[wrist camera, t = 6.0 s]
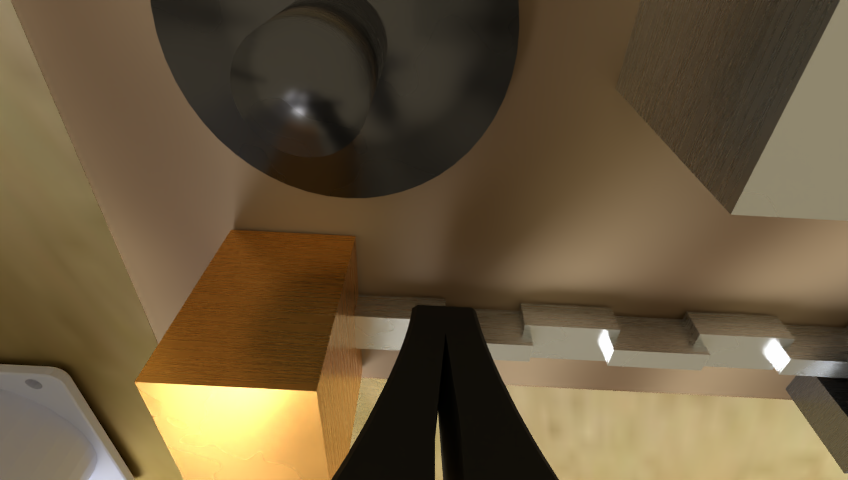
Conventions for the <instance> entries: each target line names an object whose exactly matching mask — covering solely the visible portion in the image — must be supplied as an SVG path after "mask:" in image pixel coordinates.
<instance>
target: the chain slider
mask: <svg viewBox="0 0 848 480" xmlns="http://www.w3.org/2000/svg"><path fill="white" fill-rule="evenodd" d="M416 305H431V306H445V299H435V298H416V297H397V296H377V295H359V294H358V275H357V256H356V237H355V236H341V235H322V234H303V233H284V232H264V231H245V230H230V232H229V234H228V235H227V237H226V238H225V240H224V241H223V243H222V245H221V246H220V248H219V249H218V251H217V253H216V254H215V256H214V257H213V259H212V260H211V262H210V264H209V265H208V267H207V268H206V270H205V271H204V273H203V275H202V276H201V278H200V279H199V281H198V283H197V284H196V286H195V287H194V289H193V290H192V292H191V294H190V295H189V297H188V298H187V300H186V301H185V303H184V305H183V306H182V308H181V309H180V311H179V313H178V314H177V316H176V317H175V319H174V320H173V322H172V324H171V325H170V327H169V328H168V330H167V331H166V333H165V335H164V336H163V338H162V339H161V341H160V343H159V344H158V346H157V347H156V349H155V350H154V352H153V354H152V355H151V357H150V358H149V360H148V362H147V363H146V365H145V366H144V368H143V369H142V371H141V373H140V374H139V376H138V377H137V379H136V380H135V384H136V386H137V388H138V390H139V392H140V394H141V396H142V398H143V400H144V402H145V404H146V406H147V408H148V410H149V412H150V414H151V416H152V418H153V420H154V421H155V423H156V425H157V427H158V429H159V431H160V433H161V435H162V437H163V439H164V441H165V443H166V445H167V447H168V449H169V451H170V453H171V455H172V457H173V459H174V461H175V463H176V465H177V467H178V469H179V471H180V473H181V474H182V476H183V478H184V480H331V479H332V477H333V476H334V474H335V473H336V471H337V470H338V468H339V467H340V465H341V464H342V462H343V460H344V459H345V457H346V456H347V454H348V452H349V449H350V443H351V436H352V430H353V424H354V418H355V412H356V406H357V400H358V394H359V388H360V382H361V376H362V370H363V369H362V350H361V349H377V350H397V351H400V349H401V346H402V344H403V341H404V338H405V335H406V332H407V329H408V325H409V322H410V317H411V312H412V308H413V307H415V306H416ZM474 310H475V311H476V313H477V317H478V320H479V323H480V327H481V330H482V333H483V335H484V338H485V341H486V343H487V346H488V348H489V351H490V353H491V356H492V358H493V360H506V361H525V362H529V361H530V357H533V358H552V359H572V360H591V361H606V363H607V366H622V367H642V368H661V369H680V370H700V371H701V370H702V368H703V367H704V366H708V367H727V368H746V369H766V370H773V368H775V369H776V371H777V372H778V374H779V375H797V376H816V377H836V378H848V326H847V327H846V328H837V327H818V326H798V325H784V324H783V323H782V322H781V321H780V319H779V318H778V317H777V316H764V315H745V314H725V313H706V312H686V314H685V316H684V317H683V319H663V318H644V317H624V316H615V315H614V313H613V311H612V308H609V307H590V306H571V305H551V304H532V303H521V304H520V309H519V311H508V310H489V309H474Z"/></svg>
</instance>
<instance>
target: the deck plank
mask: <svg viewBox="0 0 848 480" xmlns="http://www.w3.org/2000/svg"><path fill="white" fill-rule="evenodd" d="M640 1H641V0H519V38H518V49H517V56H516V60H515V65H514V69H513V74H512V78H511V81H510V84H509V86H508V89H507V92H506V95H505V98H504V100H503V102H502V104H501V106H500V108H499V110H498V112H497V114H496V116H495V118H494V120H493V121H492V122H491V124H490V125H489V127H488V128H487V130H486V131H485V133H484V134H483V136H482V137H481V138H480V139H479V141H478V142H477V143H476V144H475V145H474V146H473V147H472V149H471V150H470V151H469V152H468V153H467V154H466V155H465V156H463V157H462V158H461V159H460V160H459V161H458V162H457V163H456V164H454V165H453V166H452V167H450V168H449V169H447V170H446V171H444V172H443V173H442V174H440V175H439V176H437V177H435V178H433V179H431V180H429V181H427V182H425V183H423V184H422V185H419V186H416V187H414V188H411V189H408V190H406V191H403V192H399V193H395V194H391V195H386V196H380V197H371V198H340V197H331V196H324V195H320V194H315V193H311V192H307V191H304V190H301V189H298V188H295V187H292V186H289V185H287V184H285V183H282V182H280V181H278V180H276V179H274V178H272V177H270V176H268V175H266V174H264V173H263V172H261V171H259V170H258V169H256V168H254V167H252V166H251V165H250V164H248V163H247V162H246V161H244V160H243V159H241V158H240V157H239V156H237V155H236V154H235V153H233V152H232V151H231V150H230V149H229V148H228V147H227V146H226V145H225V144H223V143H222V142H221V141H220V140H219V139H218V138H217V137H216V136H215V135H214V134H213V133H212V132H211V131H210V129H209V128H208V127H207V126H206V125H205V124H204V123H203V122H202V120H201V119H200V118H199V116H198V115H197V114H196V112H195V111H194V110H193V108H192V107H191V106H190V104H189V103H188V102H187V100H186V98H185V96H184V95H183V93H182V91H181V90H180V88H179V86H178V85H177V83H176V81H175V79H174V77H173V75H172V73H171V71H170V68H169V66H168V64H167V62H166V60H165V57H164V54H163V51H162V48H161V45H160V42H159V39H158V36H157V33H156V28H155V24H154V19H153V14H152V10H151V1H150V0H11V2H12V4H13V7H14V9H15V11H16V14H17V16H18V18H19V21H20V23H21V25H22V28H23V30H24V32H25V35H26V37H27V39H28V41H29V44H30V46H31V48H32V51H33V53H34V55H35V58H36V60H37V62H38V65H39V67H40V69H41V72H42V74H43V76H44V79H45V81H46V83H47V86H48V88H49V90H50V93H51V95H52V97H53V100H54V102H55V104H56V107H57V109H58V111H59V114H60V116H61V118H62V121H63V123H64V125H65V128H66V130H67V132H68V135H69V137H70V139H71V142H72V144H73V146H74V149H75V151H76V153H77V156H78V158H79V160H80V163H81V165H82V167H83V170H84V172H85V174H86V177H87V179H88V181H89V184H90V186H91V188H92V191H93V193H94V195H95V198H96V200H97V202H98V205H99V207H100V209H101V212H102V214H103V216H104V219H105V221H106V223H107V226H108V228H109V230H110V233H111V235H112V237H113V240H114V242H115V244H116V247H117V249H118V251H119V254H120V256H121V258H122V261H123V263H124V265H125V268H126V270H127V272H128V275H129V277H130V279H131V282H132V284H133V286H134V289H135V291H136V293H137V296H138V298H139V300H140V303H141V305H142V307H143V310H144V312H145V314H146V317H147V319H148V321H149V324H150V326H151V328H152V330H153V333H154V335H155V337H156V340H157V342H158V344H159V343H160V341H161V339H162V338H163V336H164V335H165V333H166V331H167V330H168V328H169V327H170V325H171V324H172V322H173V320H174V319H175V317H176V316H177V314H178V313H179V311H180V309H181V308H182V306H183V305H184V303H185V301H186V300H187V298H188V297H189V295H190V294H191V292H192V290H193V289H194V287H195V286H196V284H197V283H198V281H199V279H200V278H201V276H202V275H203V273H204V271H205V270H206V268H207V267H208V265H209V264H210V262H211V260H212V259H213V257H214V256H215V254H216V253H217V251H218V249H219V248H220V246H221V245H222V243H223V241H224V240H225V238H226V237H227V235H228V234H229V232H230V230H245V231H264V232H284V233H303V234H322V235H341V236H355V237H356V256H357V275H358V294H359V295H377V296H397V297H416V298H435V299H445V306H451V307H470V308H473V309H489V310H508V311H519V309H520V304H521V303H532V304H551V305H571V306H590V307H609V308H612V311H613V313H614V315H615V316H624V317H644V318H663V319H683V317H684V316H685V314H686V312H706V313H725V314H745V315H764V316H777V317H778V318H779V319H780V321H781V322H782V323H783V324H784V325H798V326H818V327H837V328H846V327H847V326H848V221H842V220H822V219H803V218H784V217H765V216H746V215H731V214H730V213H729V212H728V211H727V210H726V209H725V208H724V207H723V206H722V205H721V204H720V202H719V201H718V200H717V199H716V198H715V197H714V196H713V195H712V194H711V193H710V192H709V190H708V189H707V188H706V187H705V186H704V185H703V184H702V183H701V182H700V181H699V180H698V178H697V177H696V176H695V175H694V174H693V173H692V172H691V171H690V170H689V169H688V168H687V166H686V165H685V164H684V163H683V162H682V161H681V160H680V159H679V158H678V157H677V156H676V154H675V153H674V152H673V151H672V150H671V149H670V148H669V147H668V146H667V145H666V144H665V142H664V141H663V140H662V139H661V138H660V137H659V136H658V135H657V134H656V133H655V131H654V130H653V129H652V128H651V127H650V126H649V125H648V124H647V123H646V122H645V121H644V119H643V118H642V117H641V116H640V115H639V114H638V113H637V112H636V111H635V110H634V109H633V107H632V106H631V105H630V104H629V103H628V102H627V101H626V100H625V99H624V98H623V97H622V95H621V94H620V93H619V92H618V91H617V90H616V86H617V82H618V79H619V75H620V72H621V68H622V65H623V61H624V57H625V54H626V50H627V47H628V43H629V40H630V36H631V33H632V29H633V26H634V22H635V19H636V15H637V12H638V8H639V5H640ZM361 350H362V369H363V370H362V376H361V378H379V379H388V378H389V375H390V373H391V371H392V368H393V366H394V364H395V361H396V359H397V357H398V354H399V352H400V351H397V350H377V349H361ZM494 363H495V365H496V367H497V369H498V372H499V374H500V376H501V378H502V380H503V382H504V384H505V385H515V386H535V387H554V388H574V389H593V390H613V391H632V392H652V393H671V394H690V395H710V396H729V397H749V398H768V399H788V400H793V399H792V398H791V397H790V395H789V394H788V392H787V391H786V387H787V386H788V385H789V384H790V382H791V381H792V380H793V379H794V377H795V376H796V375H779V374H778V372H777V371H776V369H775V368H773V370H766V369H746V368H727V367H708V366H704V367H703V368H702V370H701V371H700V370H680V369H661V368H642V367H622V366H607V363H606V361H591V360H572V359H552V358H533V357H530V361H529V362H525V361H506V360H494Z"/></svg>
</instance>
